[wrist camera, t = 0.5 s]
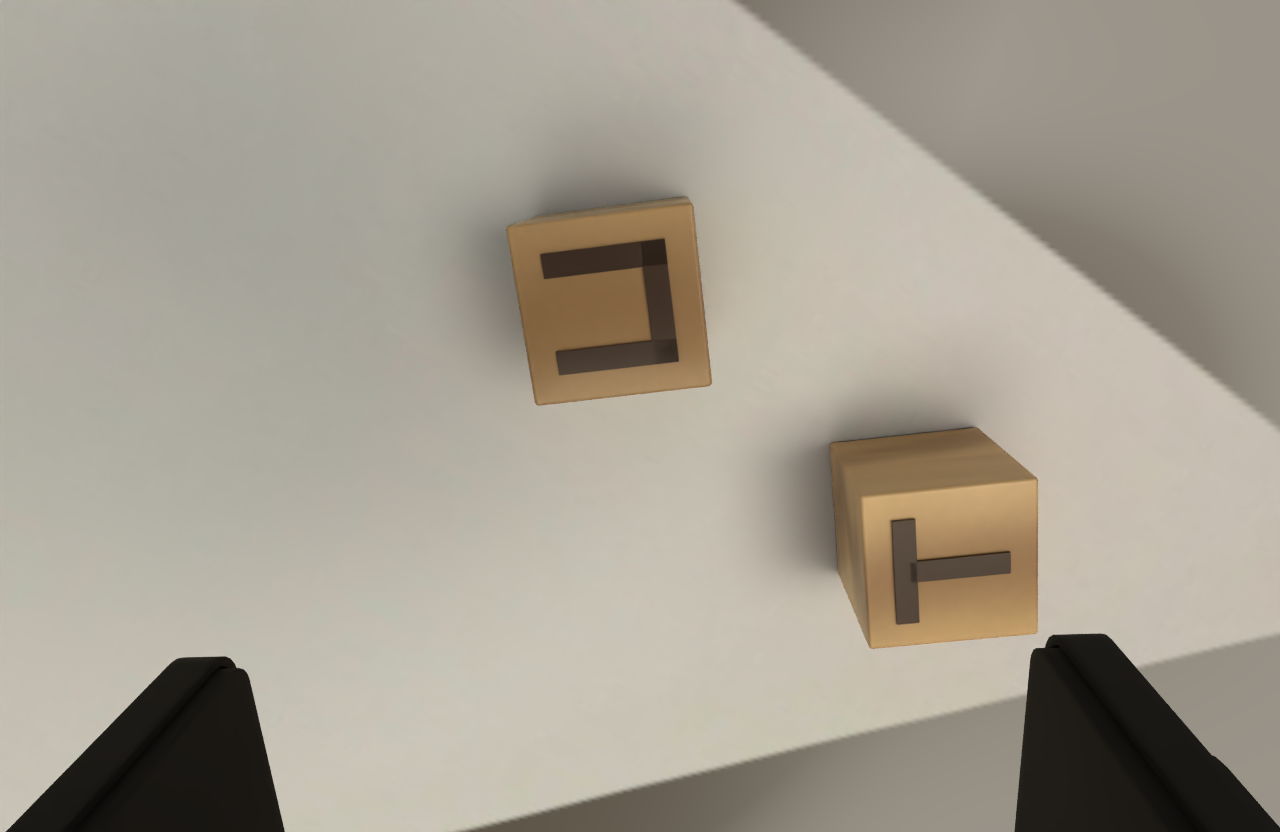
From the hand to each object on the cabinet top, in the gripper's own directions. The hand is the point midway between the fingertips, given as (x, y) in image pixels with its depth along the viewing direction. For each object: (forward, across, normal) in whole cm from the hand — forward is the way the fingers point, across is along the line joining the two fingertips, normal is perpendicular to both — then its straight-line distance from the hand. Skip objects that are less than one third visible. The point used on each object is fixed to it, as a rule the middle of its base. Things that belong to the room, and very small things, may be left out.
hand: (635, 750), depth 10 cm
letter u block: (+17, +1, -3) cm, 17 cm away
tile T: (+16, -7, +4) cm, 19 cm away
